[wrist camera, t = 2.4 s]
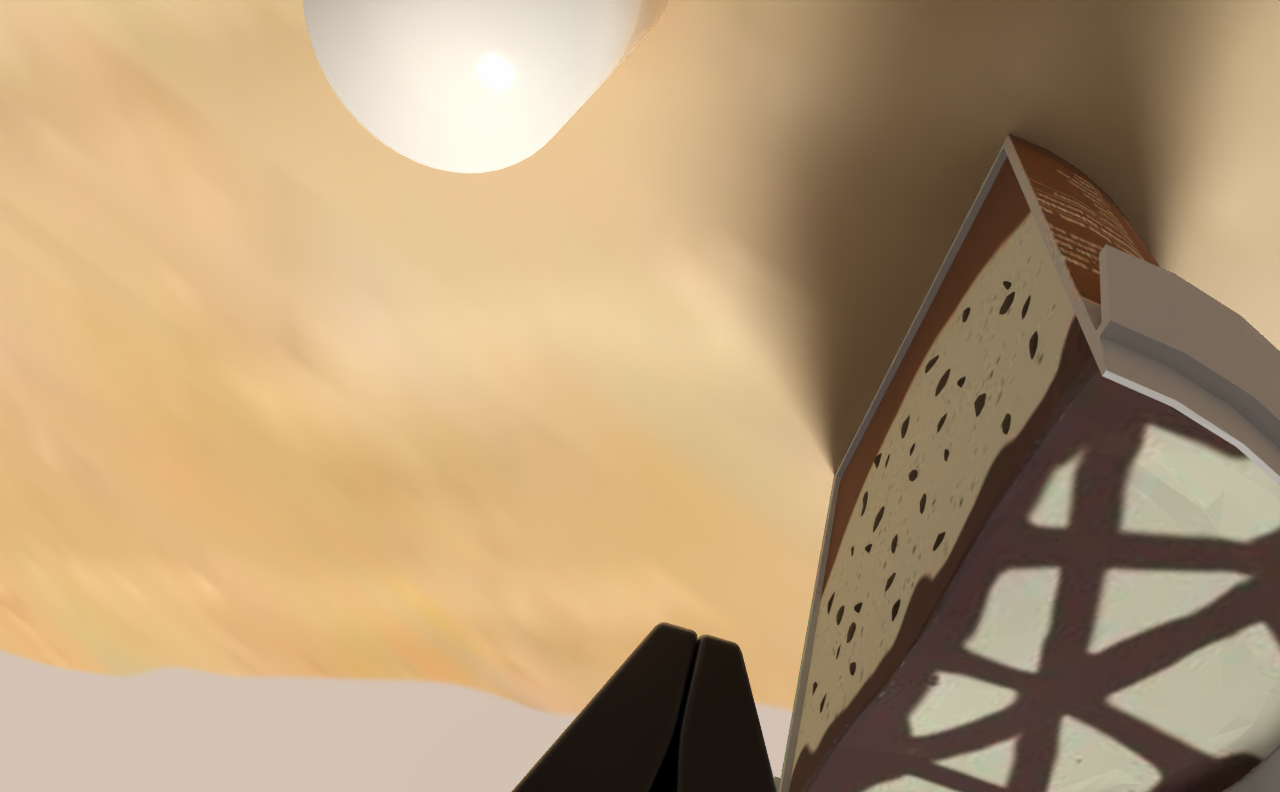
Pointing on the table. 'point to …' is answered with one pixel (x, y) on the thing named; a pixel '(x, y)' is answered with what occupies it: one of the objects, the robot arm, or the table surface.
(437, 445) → the table surface
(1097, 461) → the food container
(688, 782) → the robot arm
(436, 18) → the white rounded cylinder
